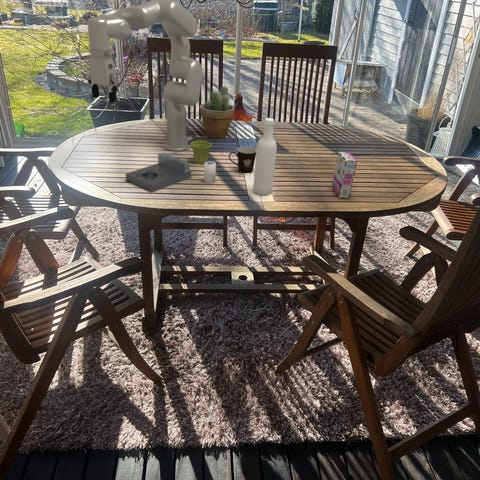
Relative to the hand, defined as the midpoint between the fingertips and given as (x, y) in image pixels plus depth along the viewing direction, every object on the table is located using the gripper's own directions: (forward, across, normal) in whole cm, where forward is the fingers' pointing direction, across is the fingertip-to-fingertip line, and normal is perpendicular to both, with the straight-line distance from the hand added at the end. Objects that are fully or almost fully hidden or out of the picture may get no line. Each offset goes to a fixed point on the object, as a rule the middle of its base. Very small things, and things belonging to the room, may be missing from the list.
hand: (104, 99), depth 181 cm
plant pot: (+30, -22, -35) cm, 51 cm away
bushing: (+30, -39, -20) cm, 53 cm away
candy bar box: (+30, -87, -46) cm, 103 cm away
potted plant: (+30, -4, -73) cm, 79 cm away
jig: (+30, -22, -7) cm, 38 cm away
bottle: (+30, -61, -26) cm, 73 cm away
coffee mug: (+30, -42, -39) cm, 65 cm away
